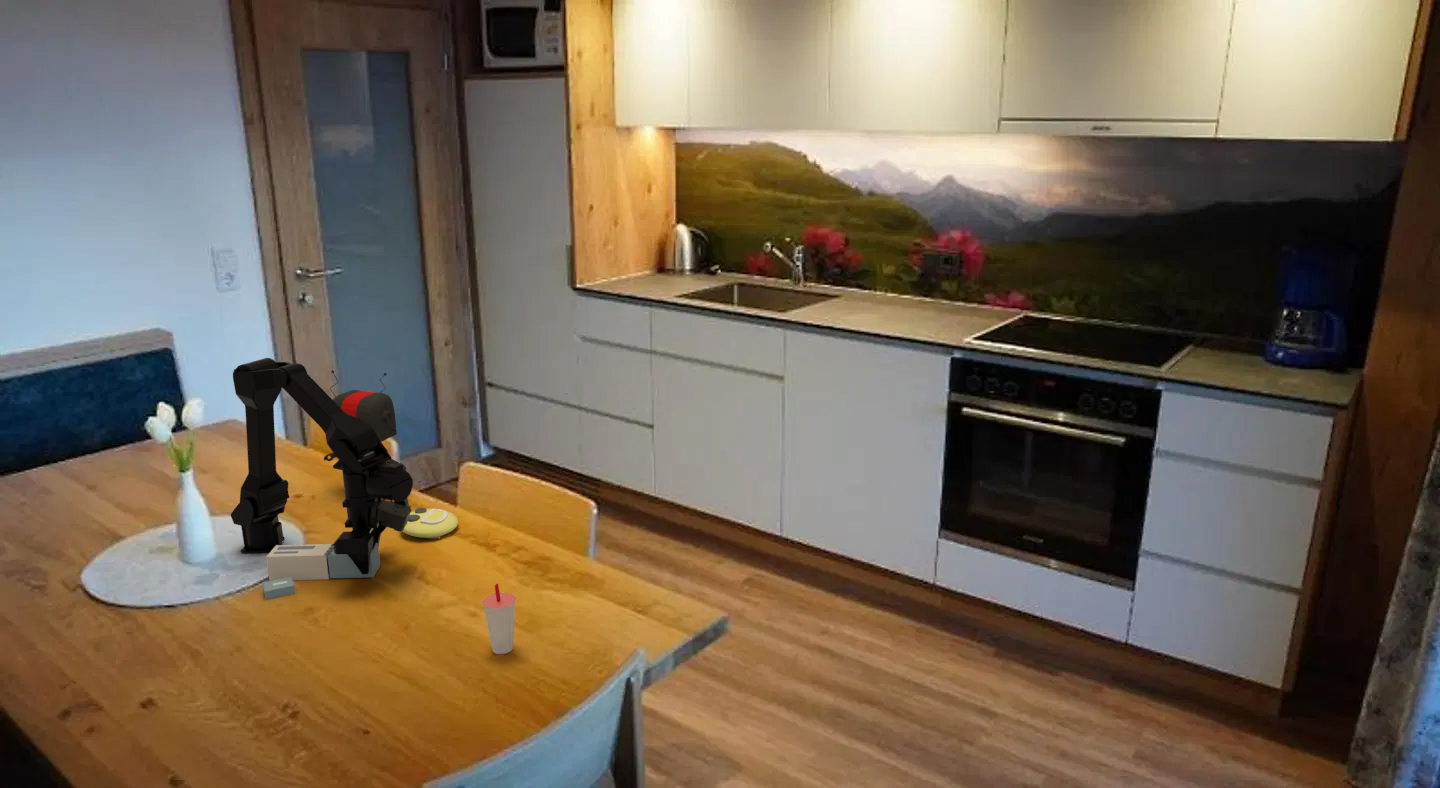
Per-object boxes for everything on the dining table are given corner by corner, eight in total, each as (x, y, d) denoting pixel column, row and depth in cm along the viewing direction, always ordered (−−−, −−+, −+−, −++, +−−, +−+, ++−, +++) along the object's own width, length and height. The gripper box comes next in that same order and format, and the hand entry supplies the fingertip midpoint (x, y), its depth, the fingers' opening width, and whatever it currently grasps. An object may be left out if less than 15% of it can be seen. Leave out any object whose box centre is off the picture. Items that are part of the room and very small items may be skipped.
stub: (330, 578, 185) (327, 554, 183) (338, 566, 189) (335, 543, 188) (373, 577, 185) (370, 553, 184) (380, 565, 190) (377, 542, 188)
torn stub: (266, 601, 177) (264, 591, 176) (263, 592, 180) (262, 582, 180) (295, 595, 179) (294, 584, 179) (292, 586, 183) (291, 576, 182)
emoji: (466, 506, 210) (412, 500, 211) (445, 529, 199) (389, 523, 200) (466, 522, 211) (412, 516, 212) (446, 547, 200) (389, 540, 201)
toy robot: (421, 494, 225) (410, 369, 216) (396, 509, 216) (383, 380, 208) (344, 483, 232) (330, 361, 223) (317, 497, 223) (301, 371, 215)
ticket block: (269, 580, 184) (265, 556, 182) (279, 568, 189) (275, 544, 187) (328, 579, 185) (325, 554, 183) (337, 567, 189) (334, 543, 188)
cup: (481, 656, 159) (476, 590, 155) (491, 639, 164) (486, 575, 160) (514, 658, 158) (509, 591, 155) (522, 640, 164) (518, 576, 160)
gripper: (391, 511, 174) (399, 589, 179) (416, 473, 192) (423, 545, 196) (328, 512, 174) (337, 591, 178) (359, 474, 191) (367, 546, 196)
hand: (369, 567), depth 187 cm, fingers closed on stub, 5 cm apart
